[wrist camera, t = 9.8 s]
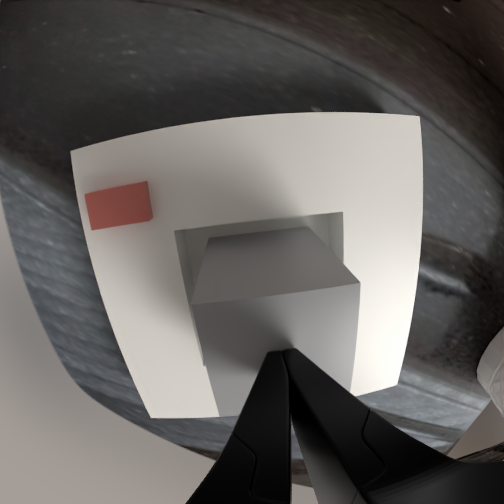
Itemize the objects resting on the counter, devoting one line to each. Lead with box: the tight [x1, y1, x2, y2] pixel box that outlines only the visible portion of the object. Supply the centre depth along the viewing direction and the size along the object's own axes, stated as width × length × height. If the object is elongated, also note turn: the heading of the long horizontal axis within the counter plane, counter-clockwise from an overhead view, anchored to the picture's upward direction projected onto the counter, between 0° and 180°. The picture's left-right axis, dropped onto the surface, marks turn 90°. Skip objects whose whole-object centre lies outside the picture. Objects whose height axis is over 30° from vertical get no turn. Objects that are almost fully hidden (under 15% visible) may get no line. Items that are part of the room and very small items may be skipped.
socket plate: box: [70, 112, 423, 418], centre depth 13 cm, size 14×14×3 cm
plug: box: [191, 226, 361, 426], centre depth 11 cm, size 4×7×6 cm, turn 6°
